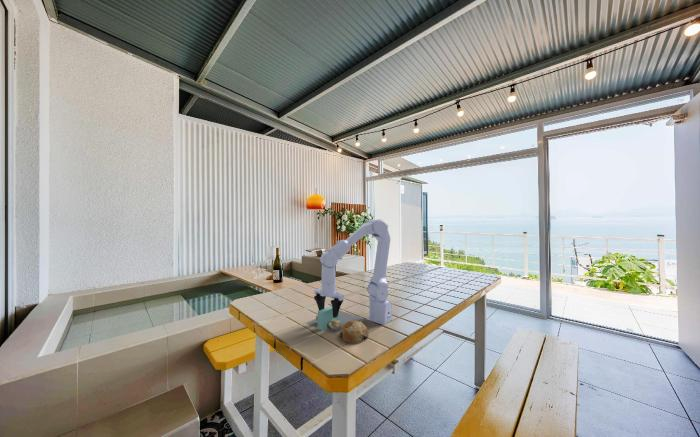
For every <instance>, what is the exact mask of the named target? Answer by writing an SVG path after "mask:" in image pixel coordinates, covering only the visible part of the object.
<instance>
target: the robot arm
mask: <svg viewBox="0 0 700 437" xmlns="http://www.w3.org/2000/svg"><path fill="white" fill-rule="evenodd" d="M367 235H372V236H373V237H374V238H375V240H376V241H377V245H376V252H375V260H374V267H373V274H372V277H371V278H370V280H369V283H368V285H367V287H366V291H367V294H369V302H368V304H369V305H368V306H369V308H368V309H369V310H368V311H369V312H368V313H369V314H368V316H367V317H366V318H365V317H364V319H365V320H367V321H370V322H372V323H376V324H380V325H383V326H384V325H386V324H387V323H389V322H391V321H392V320H393V317H392V316H393V315H392V314H393V307H392V306H393V304H392V302H391V301H389V300H387V299H388V297H389V295H390V294H389V287H388V286H389V283H388V282H387V279H386V276H387V267H388V262H389V261H388V260H389V252H390V247H391V245H390V244H391V234H390V233H389V225H388V224H387V223H386V221H385V220H383V219H380V218H379V219H369V220H367V221H366V222H364V223H362V225H360V226H359V227H358V229H357V228H356V230H355V231H354V232H353V233H352V234H350V235H349V236H348V237H347V238H346V239H341V240H339V239H338V240H337V241H336V244H334V245H333V246H331V248H328V249H327V251H324V252H323V253H321V256H320V258H319V262H320V263H321V289H320V288H316V289H314V291H313V293H314V295H315V296H313V299H314V301H315V302H316V305H317V308H318V311H320V310H322V309H325V305H326V304H325V303H326V298H331V300H330V303H331V306H332V309H333V318H335V317H337V316H338V313H339V311H340V309H341V306H342V304H343V303H344V294H343V293H340V292H338V291H336V265H338V261H339V260H340V259H341V258H342V257H344V256H345V255H346V254H348V253H349V252H350V251H351V247H352V246H353V245H354V244H355V243H357V242H358V241H359V240H361V238H363V237H364V236H367Z"/></svg>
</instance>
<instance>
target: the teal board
mask: <svg viewBox="0 0 700 437" xmlns="http://www.w3.org/2000/svg"><path fill="white" fill-rule="evenodd" d="M317 315H318V328H317V330H319V331H325V330H324V329H326V328H327V323H329V322H331V320H333V319H336V320H339V313H338V316H337V317H335V318H333V309H332V305H329V306H328V307H324V309H322V310H320V311H319V310H318V311H317Z"/></svg>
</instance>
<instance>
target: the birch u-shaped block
mask: <svg viewBox="0 0 700 437" xmlns="http://www.w3.org/2000/svg"><path fill="white" fill-rule="evenodd" d="M315 319H316V323H318V314H317V315H315ZM327 327H329V328H332V329H335V330H340V329H341V321H339V320H336V319H333V320H331V322H329V323H327Z"/></svg>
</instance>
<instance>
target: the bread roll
mask: <svg viewBox="0 0 700 437" xmlns="http://www.w3.org/2000/svg"><path fill="white" fill-rule="evenodd" d="M339 335H340V336H341V337H340V338H341V339H342V340H343V341H345V342H347V343H349V344H361V343H364V342H365V341H366V340H367V339H368V337H369V330H368V327H367V326H366V325H365V324H364V323H363V322H362V321H350V322H347V323H346V324H345V325H344V326H342V328H341V330H340V332H339Z"/></svg>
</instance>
